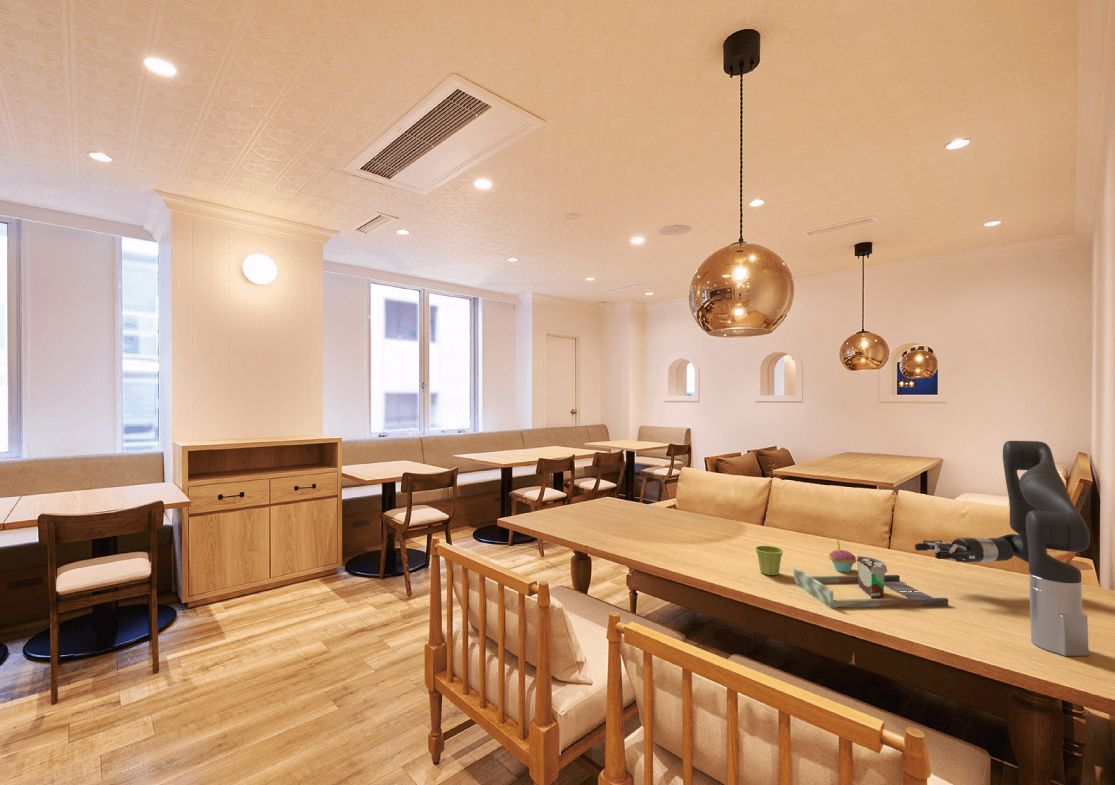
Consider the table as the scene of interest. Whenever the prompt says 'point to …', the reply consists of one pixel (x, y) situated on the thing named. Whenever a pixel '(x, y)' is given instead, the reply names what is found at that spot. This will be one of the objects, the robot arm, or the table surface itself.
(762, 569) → the plant pot
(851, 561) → the cupcake
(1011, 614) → the table surface
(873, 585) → the food container
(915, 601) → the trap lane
